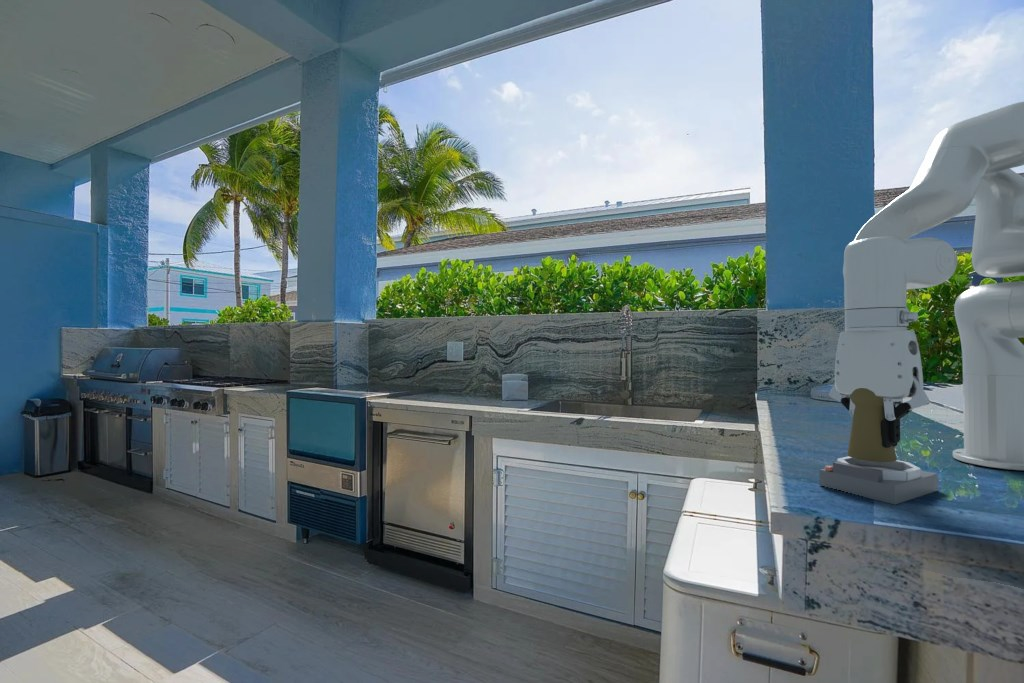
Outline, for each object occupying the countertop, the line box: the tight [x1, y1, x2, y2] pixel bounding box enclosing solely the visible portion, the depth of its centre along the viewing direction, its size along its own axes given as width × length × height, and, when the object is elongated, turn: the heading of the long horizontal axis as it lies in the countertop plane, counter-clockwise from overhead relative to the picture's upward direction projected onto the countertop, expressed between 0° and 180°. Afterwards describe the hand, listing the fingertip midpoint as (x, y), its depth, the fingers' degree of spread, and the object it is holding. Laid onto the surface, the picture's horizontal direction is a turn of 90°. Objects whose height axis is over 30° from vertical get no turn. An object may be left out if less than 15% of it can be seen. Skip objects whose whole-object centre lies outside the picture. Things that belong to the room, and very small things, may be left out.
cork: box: [846, 388, 898, 462], centre depth 75 cm, size 6×6×11 cm
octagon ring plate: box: [819, 455, 939, 505], centre depth 74 cm, size 12×10×4 cm
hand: (876, 443), depth 74 cm, fingers closed on cork, 2 cm apart
